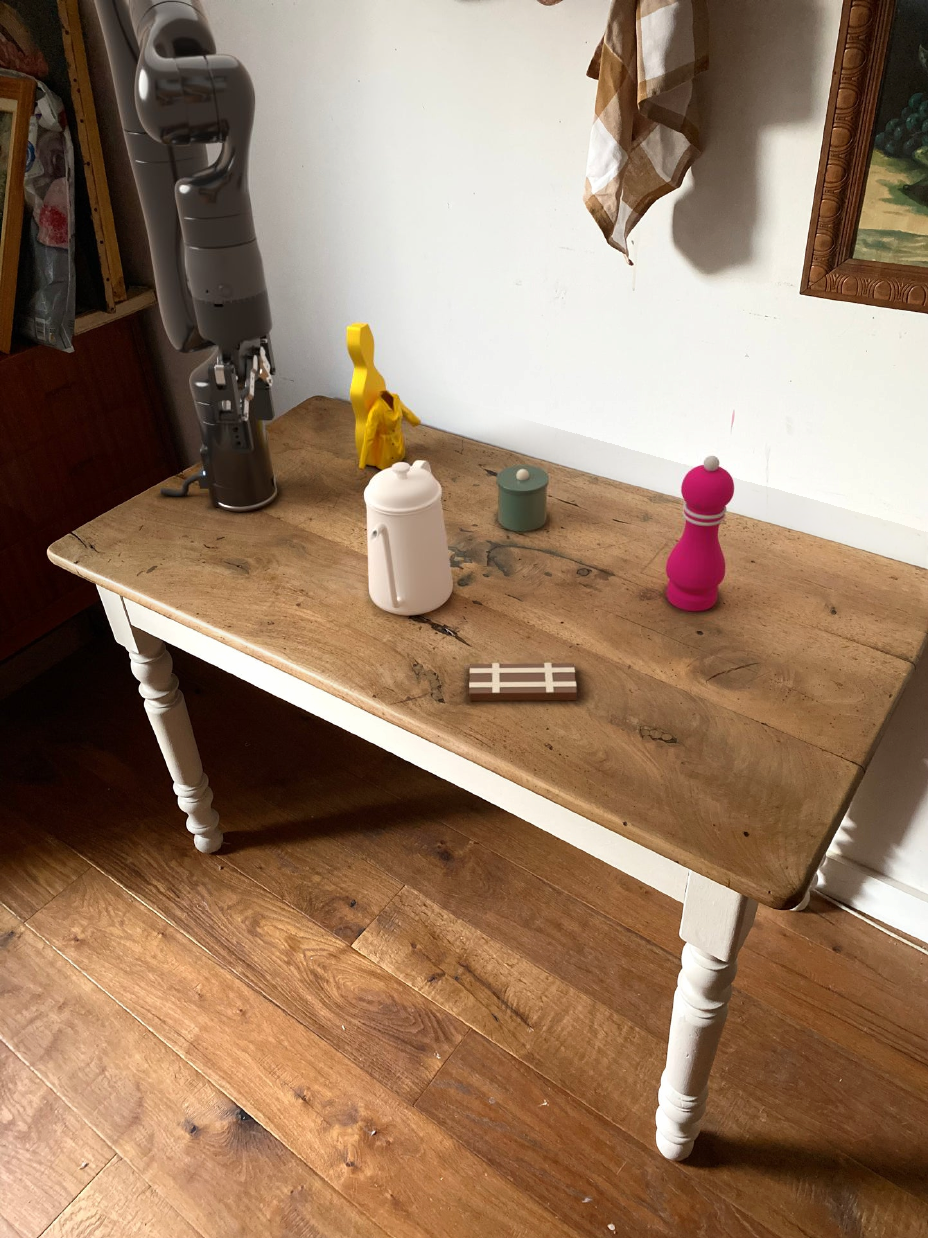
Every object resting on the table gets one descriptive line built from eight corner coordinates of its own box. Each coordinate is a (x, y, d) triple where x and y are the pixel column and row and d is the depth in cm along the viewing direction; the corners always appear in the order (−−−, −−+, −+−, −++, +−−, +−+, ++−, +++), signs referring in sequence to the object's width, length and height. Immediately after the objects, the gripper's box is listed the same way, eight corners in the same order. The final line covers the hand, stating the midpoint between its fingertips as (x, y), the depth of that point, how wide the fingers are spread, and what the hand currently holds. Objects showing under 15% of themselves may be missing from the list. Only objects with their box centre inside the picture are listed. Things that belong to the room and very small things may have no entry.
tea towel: (469, 701, 103) (469, 692, 102) (470, 671, 107) (469, 663, 106) (576, 700, 102) (577, 691, 101) (573, 670, 106) (573, 662, 105)
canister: (496, 532, 130) (496, 483, 125) (496, 505, 136) (496, 457, 131) (549, 532, 130) (550, 482, 125) (546, 505, 136) (547, 456, 131)
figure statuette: (373, 490, 140) (358, 352, 127) (331, 479, 144) (313, 343, 130) (431, 441, 153) (423, 310, 139) (391, 432, 156) (380, 303, 142)
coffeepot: (341, 652, 110) (321, 519, 98) (394, 540, 129) (382, 417, 118) (429, 662, 108) (419, 527, 97) (469, 546, 127) (465, 422, 116)
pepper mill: (723, 585, 118) (748, 446, 106) (716, 618, 113) (741, 475, 101) (667, 576, 120) (685, 438, 108) (658, 608, 115) (675, 467, 103)
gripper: (215, 267, 98) (241, 409, 108) (167, 308, 87) (201, 463, 97) (283, 266, 98) (303, 410, 107) (244, 308, 86) (270, 464, 96)
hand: (254, 435), depth 102 cm, fingers open, 8 cm apart
